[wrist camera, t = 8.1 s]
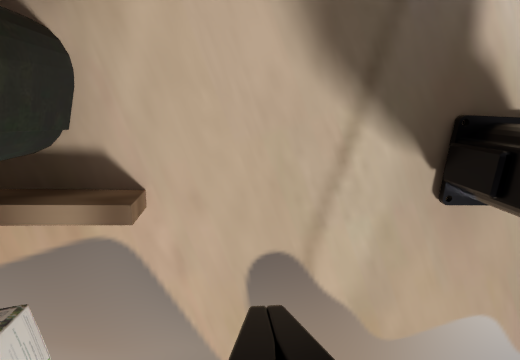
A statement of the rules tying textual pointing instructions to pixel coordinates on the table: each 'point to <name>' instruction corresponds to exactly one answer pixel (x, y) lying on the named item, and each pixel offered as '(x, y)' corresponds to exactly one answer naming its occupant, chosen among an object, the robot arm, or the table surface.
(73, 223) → the tray
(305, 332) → the robot arm
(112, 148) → the table surface
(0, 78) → the sushi
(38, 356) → the syrup box
